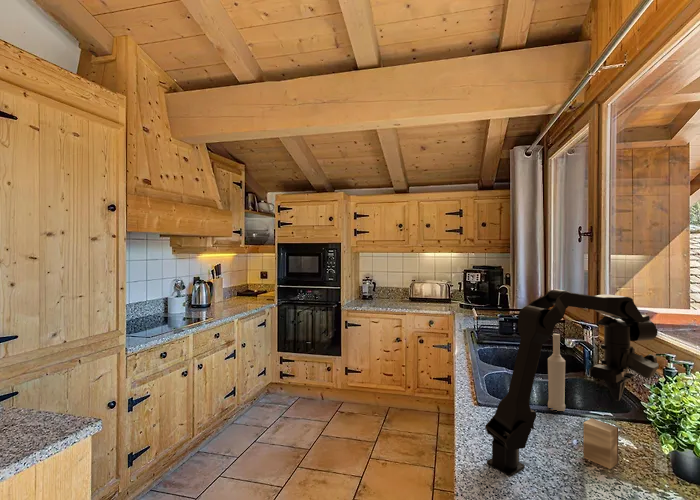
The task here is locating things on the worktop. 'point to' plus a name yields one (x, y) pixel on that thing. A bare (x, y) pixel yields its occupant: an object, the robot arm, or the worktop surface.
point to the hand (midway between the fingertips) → (617, 400)
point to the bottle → (556, 377)
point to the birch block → (601, 443)
